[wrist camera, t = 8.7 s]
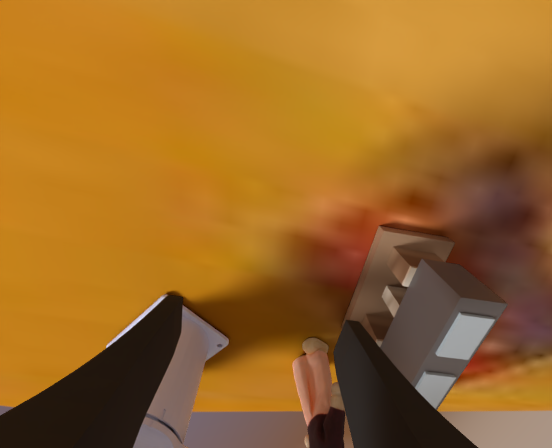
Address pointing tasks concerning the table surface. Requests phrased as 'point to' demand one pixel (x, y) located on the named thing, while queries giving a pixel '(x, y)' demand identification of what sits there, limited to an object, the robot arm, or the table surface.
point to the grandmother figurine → (319, 397)
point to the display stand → (391, 276)
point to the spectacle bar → (440, 327)
